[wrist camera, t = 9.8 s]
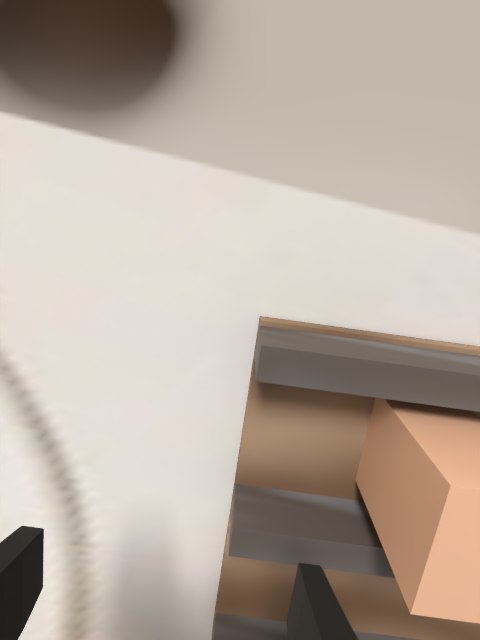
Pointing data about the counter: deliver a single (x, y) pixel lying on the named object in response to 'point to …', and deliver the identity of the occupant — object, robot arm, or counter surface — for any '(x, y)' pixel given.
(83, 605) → the counter surface
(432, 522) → the block
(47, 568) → the counter surface
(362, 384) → the rack
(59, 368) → the counter surface
